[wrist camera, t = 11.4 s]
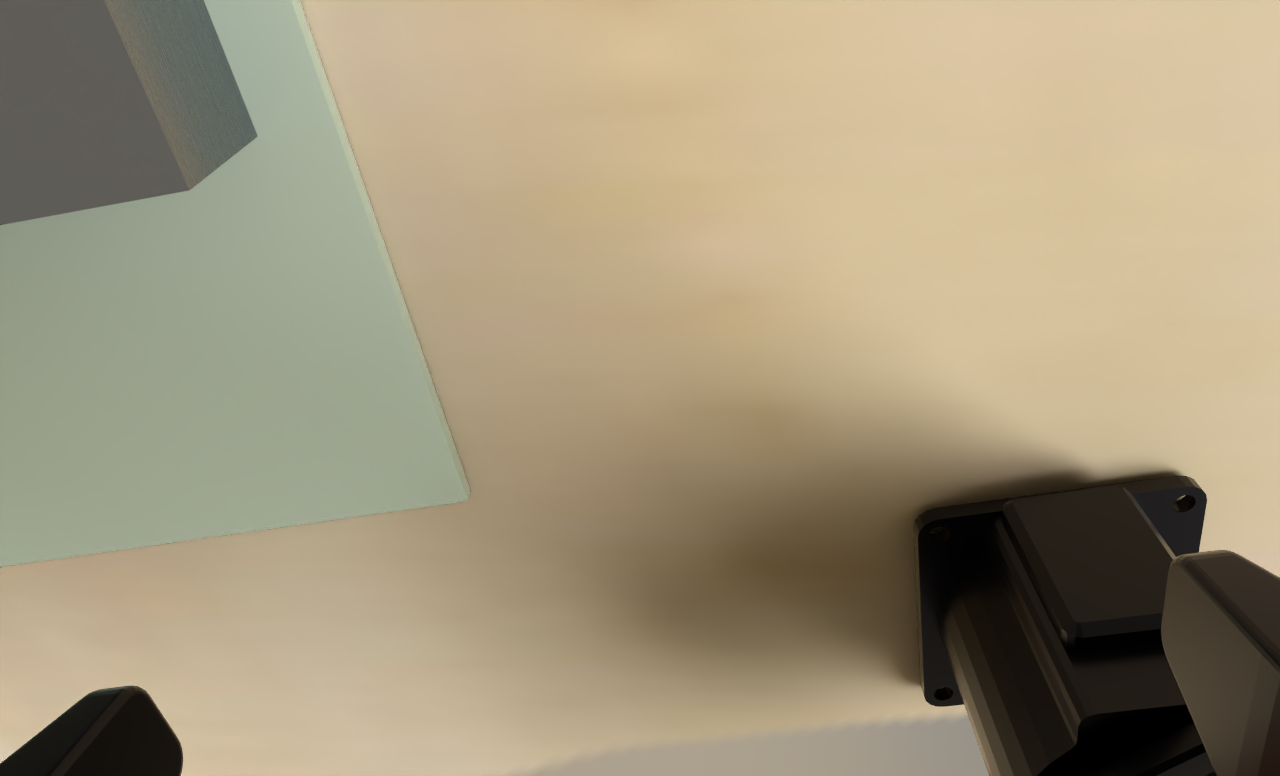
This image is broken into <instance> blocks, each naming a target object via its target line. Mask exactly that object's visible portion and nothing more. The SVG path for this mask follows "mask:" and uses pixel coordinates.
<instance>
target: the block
mask: <svg viewBox="0 0 1280 776" xmlns="http://www.w3.org/2000/svg"><path fill="white" fill-rule="evenodd" d="M256 137H258V135H257V133H256V130H255V128H254V125H253V123H252V120H251V118H250V115H249V113H248V110H247V108H246V105H245V103H244V100H243V98H242V95H241V93H240V90H239V88H238V85H237V83H236V80H235V77H234V75H233V72H232V70H231V67H230V65H229V62H228V60H227V57H226V55H225V52H224V50H223V47H222V45H221V42H220V40H219V37H218V35H217V32H216V30H215V27H214V25H213V22H212V20H211V17H210V15H209V12H208V10H207V7H206V5H205V2H204V0H0V225H4V224H10V223H15V222H21V221H26V220H32V219H37V218H43V217H48V216H53V215H59V214H64V213H70V212H75V211H81V210H86V209H92V208H97V207H102V206H108V205H113V204H119V203H124V202H130V201H135V200H140V199H146V198H151V197H157V196H162V195H168V194H173V193H179V192H184V191H189V190H191V189H192V188H193V187H195V186H196V185H197V184H198V183H200V182H201V181H202V180H203V179H205V178H206V177H207V176H209V175H210V174H211V173H212V172H214V171H215V170H216V169H217V168H219V167H220V166H221V165H222V164H224V163H225V162H226V161H227V160H229V159H230V158H231V157H232V156H234V155H235V154H236V153H238V152H239V151H240V150H241V149H243V148H244V147H245V146H246V145H248V144H249V143H250V142H251V141H253V140H254V139H255V138H256Z"/></svg>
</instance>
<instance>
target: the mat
mask: <svg viewBox="0 0 1280 776" xmlns="http://www.w3.org/2000/svg"><path fill="white" fill-rule="evenodd" d="M204 2H205V5H206V7H207V10H208V12H209V15H210V17H211V20H212V22H213V25H214V27H215V30H216V32H217V35H218V37H219V40H220V42H221V45H222V47H223V50H224V52H225V55H226V57H227V60H228V62H229V65H230V67H231V70H232V72H233V75H234V77H235V80H236V83H237V85H238V88H239V90H240V93H241V95H242V98H243V100H244V103H245V105H246V108H247V110H248V113H249V115H250V118H251V120H252V123H253V125H254V128H255V130H256V133H257V135H258V137H256V138H255V139H254V140H253V141H251V142H250V143H249V144H248V145H246V146H245V147H244V148H243V149H241V150H240V151H239V152H238V153H236V154H235V155H234V156H232V157H231V158H230V159H229V160H227V161H226V162H225V163H224V164H222V165H221V166H220V167H219V168H217V169H216V170H215V171H214V172H212V173H211V174H210V175H209V176H207V177H206V178H205V179H203V180H202V181H201V182H200V183H198V184H197V185H196V186H195V187H193V188H192V189H191V190H189V191H184V192H179V193H173V194H168V195H162V196H157V197H151V198H146V199H140V200H135V201H130V202H124V203H119V204H113V205H108V206H102V207H97V208H92V209H86V210H81V211H75V212H70V213H64V214H59V215H53V216H48V217H43V218H37V219H32V220H26V221H21V222H15V223H10V224H4V225H0V567H5V566H12V565H19V564H26V563H33V562H40V561H47V560H54V559H62V558H69V557H76V556H83V555H90V554H97V553H104V552H111V551H118V550H125V549H132V548H139V547H147V546H154V545H161V544H168V543H175V542H182V541H189V540H196V539H203V538H210V537H217V536H224V535H232V534H239V533H246V532H253V531H260V530H267V529H274V528H281V527H288V526H295V525H302V524H310V523H317V522H324V521H331V520H338V519H345V518H352V517H359V516H366V515H373V514H380V513H387V512H395V511H402V510H409V509H416V508H423V507H430V506H437V505H444V504H451V503H458V502H465V501H468V499H469V495H470V492H471V490H470V487H469V484H468V481H467V478H466V476H465V473H464V470H463V467H462V464H461V461H460V458H459V456H458V453H457V450H456V447H455V444H454V441H453V438H452V435H451V433H450V430H449V427H448V424H447V421H446V418H445V415H444V413H443V410H442V407H441V404H440V401H439V398H438V395H437V392H436V390H435V387H434V384H433V381H432V378H431V375H430V372H429V369H428V367H427V364H426V361H425V358H424V355H423V352H422V349H421V347H420V344H419V341H418V338H417V335H416V332H415V329H414V326H413V324H412V321H411V318H410V315H409V312H408V309H407V306H406V304H405V301H404V298H403V295H402V292H401V289H400V286H399V283H398V281H397V278H396V275H395V272H394V269H393V266H392V263H391V260H390V258H389V255H388V252H387V249H386V246H385V243H384V240H383V238H382V235H381V232H380V229H379V226H378V223H377V220H376V217H375V215H374V212H373V209H372V206H371V203H370V200H369V197H368V194H367V192H366V189H365V186H364V183H363V180H362V177H361V174H360V172H359V169H358V166H357V163H356V160H355V157H354V154H353V151H352V149H351V146H350V143H349V140H348V137H347V134H346V131H345V129H344V126H343V123H342V120H341V117H340V114H339V111H338V108H337V106H336V103H335V100H334V97H333V94H332V91H331V88H330V85H329V83H328V80H327V77H326V74H325V71H324V68H323V65H322V63H321V60H320V57H319V54H318V51H317V48H316V45H315V42H314V40H313V37H312V34H311V31H310V28H309V25H308V22H307V19H306V17H305V14H304V11H303V8H302V5H301V2H300V0H204Z"/></svg>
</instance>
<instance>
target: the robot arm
mask: <svg viewBox="0 0 1280 776" xmlns="http://www.w3.org/2000/svg"><path fill="white" fill-rule="evenodd" d="M1183 495H1185V497H1183V498H1182V499H1181V500H1179V501H1175V500H1176V499H1177V498H1178V497H1180V496H1183ZM1174 501H1175V502H1174ZM1206 503H1207V498H1206V494H1205V493H1204V491H1203V490H1202V489H1201V488H1200V486H1199V485H1198V484H1197V483H1196V482H1195V480H1194V479H1192V478H1190V477H1187V476H1174V477H1167V478H1159V479H1152V480H1144V481H1137V482H1129V483H1122V484H1114V485H1107V486H1099V487H1092V488H1084V489H1077V490H1069V491H1062V492H1054V493H1047V494H1039V495H1031V496H1024V497H1016V498H1009V499H1001V500H994V501H986V502H979V503H971V504H964V505H956V506H949V507H941V508H934V509H931V510H927V511H925V512H924V513H922V514H921V515H919V517H918V518H917V519H916V521H915V524H914V544H915V566H916V589H917V612H918V634H919V657H920V679H921V687H922V690H923V693H924V696H925V699H926V701H927V702H928V703H929V704H931V705H934V706H953V705H962V704H964V705H965V708H966V710H967V713H968V716H969V719H970V722H971V725H972V728H973V730H974V733H975V736H976V739H977V742H978V745H979V748H980V750H981V753H982V756H983V759H984V762H985V765H986V768H987V770H988V773H989V776H1280V577H1278V576H1276V575H1274V574H1272V573H1271V572H1269V571H1267V570H1265V569H1264V568H1262V567H1260V566H1258V565H1256V564H1255V563H1253V562H1251V561H1249V560H1248V559H1246V558H1244V557H1242V556H1240V555H1238V554H1236V553H1234V552H1231V551H1227V550H1216V551H1208V552H1200V553H1199V546H1200V540H1201V534H1202V528H1203V522H1204V515H1205V509H1206ZM938 527H945V528H944V529H943V530H941V531H940V532H937V533H930V532H931V531H932V530H933V529H935V528H938ZM942 687H943V688H942ZM939 688H940V689H939ZM182 766H183V753H182V747H181V744H180V741H179V739H178V738H177V736H176V735H175V733H174V732H173V730H172V729H171V727H170V726H169V724H168V723H167V721H166V720H165V718H164V717H163V715H162V713H161V712H160V710H159V709H158V707H157V706H156V704H155V703H154V701H153V700H152V698H151V697H150V695H149V694H148V693H147V692H146V691H145V690H143V689H142V688H140V687H138V686H124V687H116V688H108V689H100V690H97V691H94V692H92V693H90V694H88V695H86V696H85V697H83V698H82V699H81V700H80V701H78V702H77V703H76V704H75V705H73V706H72V707H71V708H70V709H68V710H67V711H66V712H65V713H63V714H62V715H61V716H60V717H58V718H57V719H56V720H55V721H53V722H52V723H51V724H50V725H48V726H47V727H46V728H44V729H43V730H42V731H41V732H39V733H38V734H37V735H36V736H34V737H33V738H32V739H31V740H29V741H28V742H27V743H26V744H24V745H23V746H22V747H21V748H19V749H18V750H17V751H16V752H14V753H13V754H12V755H11V756H9V757H8V758H7V759H6V760H4V761H3V762H2V763H0V776H181V772H182Z"/></svg>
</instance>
